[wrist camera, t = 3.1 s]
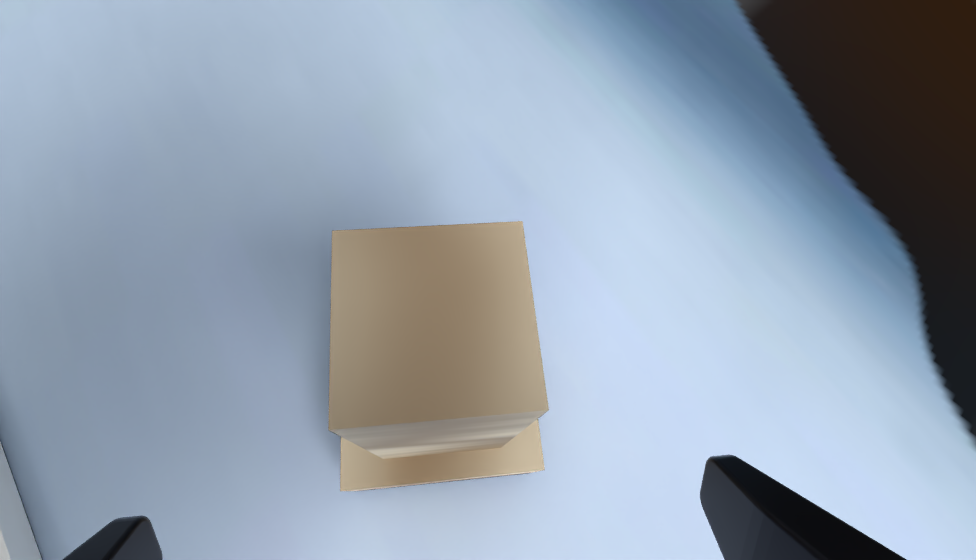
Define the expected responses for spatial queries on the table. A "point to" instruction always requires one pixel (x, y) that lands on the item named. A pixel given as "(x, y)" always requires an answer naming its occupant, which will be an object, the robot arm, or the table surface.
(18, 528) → the ink pad
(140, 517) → the robot arm
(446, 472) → the stamp
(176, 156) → the table surface
